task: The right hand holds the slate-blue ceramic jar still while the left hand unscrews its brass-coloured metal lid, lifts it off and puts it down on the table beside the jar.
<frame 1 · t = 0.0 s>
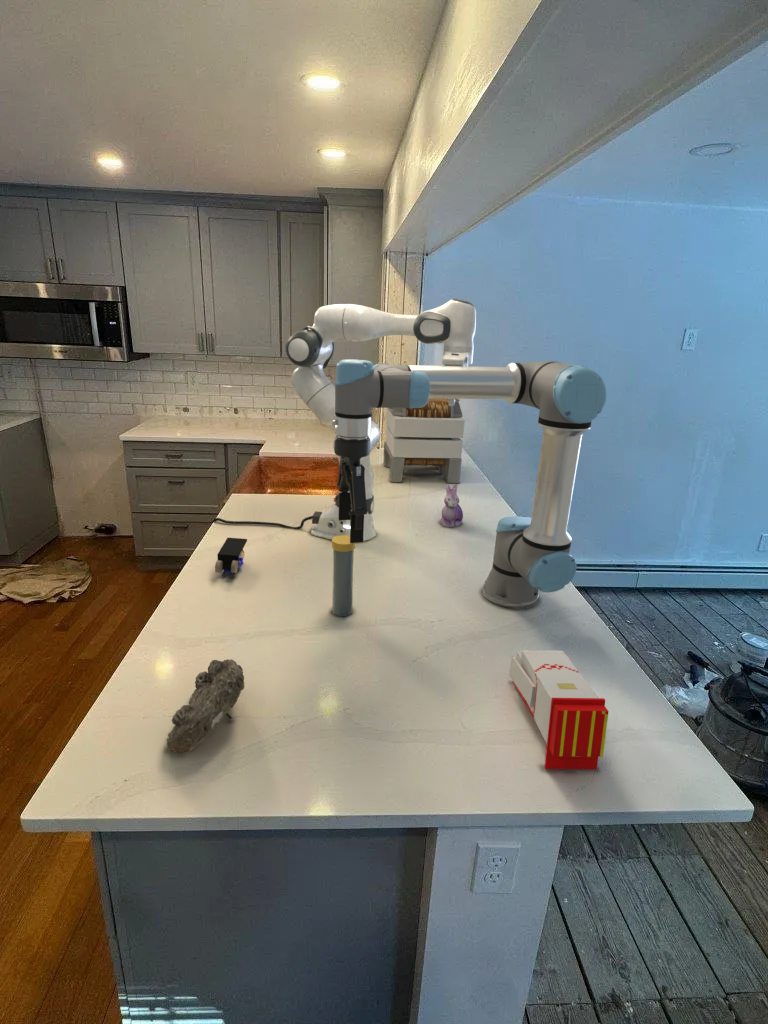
left hand: (454, 403, 174), 48 cm above the counter, tool pointing down, fingers open, 8 cm apart
right hand: (350, 530, 126), 28 cm above the counter, tool pointing down, fingers open, 13 cm apart
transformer: (419, 473, 275), on the counter
jar: (342, 611, 148), on the counter
figurine character: (232, 569, 168), on the counter
figurine: (451, 523, 212), on the counter
toy: (547, 717, 112), on the counter
fossil: (212, 717, 108), on the counter
lid: (343, 540, 141), point 20 cm above the counter, screwed on, not yet turned
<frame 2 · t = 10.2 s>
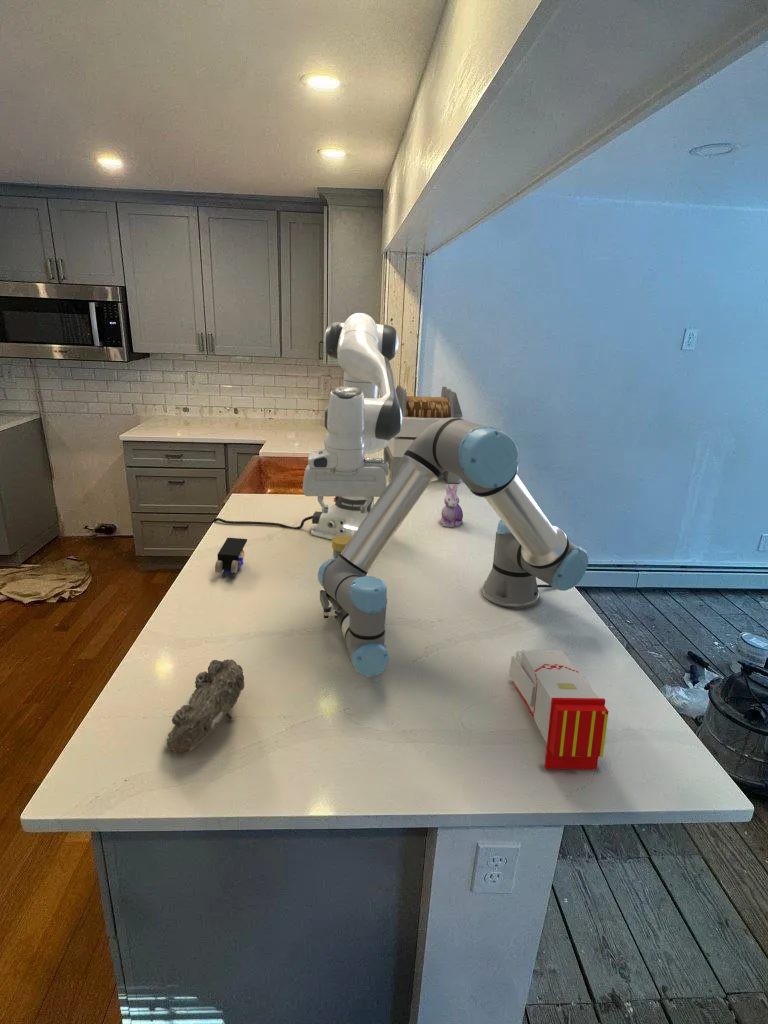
left hand: (344, 512, 138), 27 cm above the counter, tool pointing down, fingers open, 8 cm apart
right hand: (339, 579, 150), 6 cm above the counter, tool horizontal, fingers closed on jar, 5 cm apart
jar: (342, 611, 148), on the counter, touching right hand
everything else where it was.
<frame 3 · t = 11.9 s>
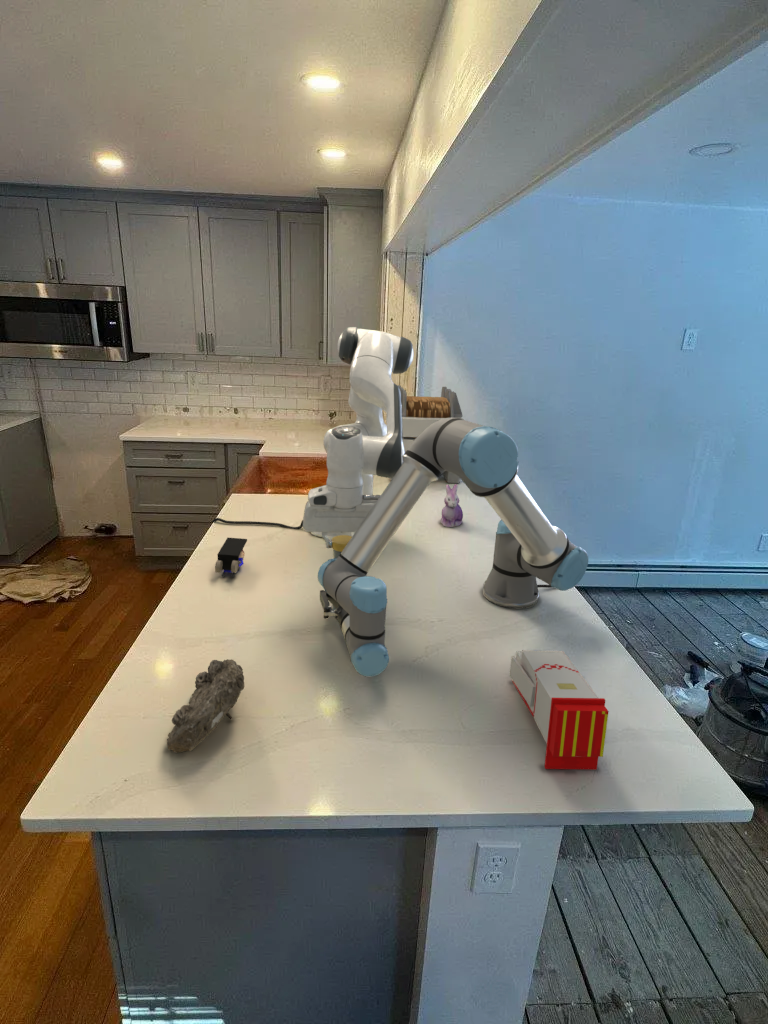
left hand: (343, 547, 142), 18 cm above the counter, tool pointing down, fingers closed on lid, 6 cm apart
right hand: (339, 579, 150), 6 cm above the counter, tool horizontal, fingers closed on jar, 5 cm apart
jar: (342, 611, 148), on the counter, touching right hand
lid: (343, 540, 141), point 20 cm above the counter, screwed on, not yet turned, touching left hand
everything else where it was.
when the left hand's fingers open (18 cm above the counter, at t = 13.2 s): lid stays where it is, point 20 cm above the counter.
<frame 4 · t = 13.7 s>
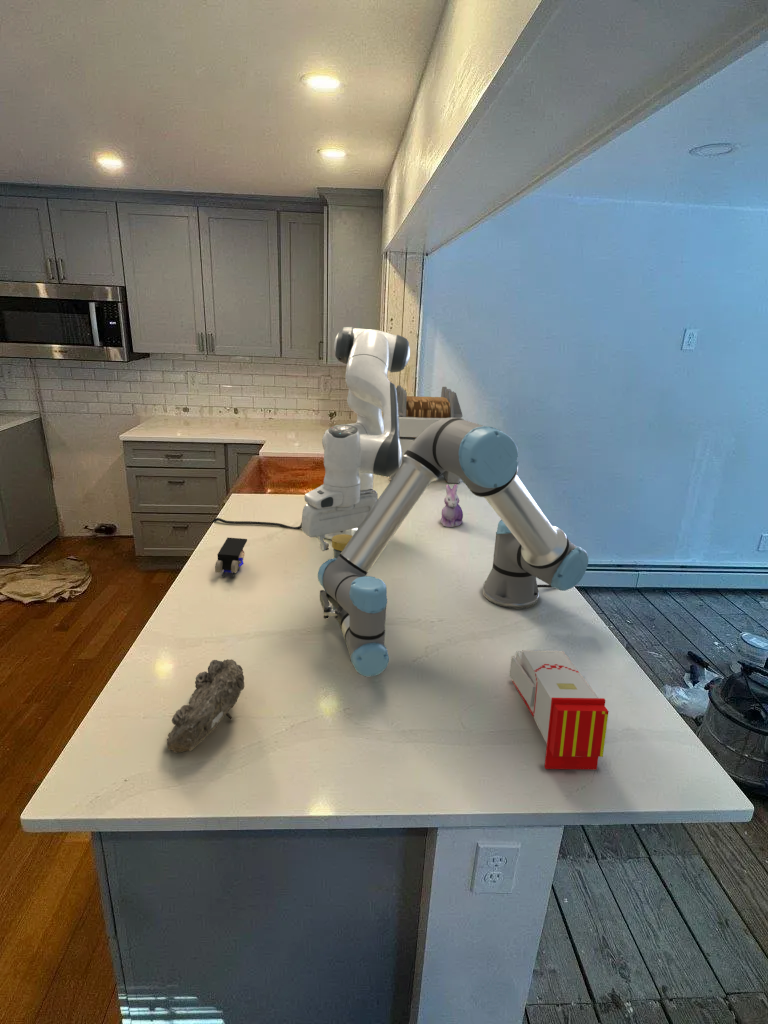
left hand: (341, 546, 141), 18 cm above the counter, tool pointing down, fingers open, 8 cm apart
right hand: (339, 579, 150), 6 cm above the counter, tool horizontal, fingers closed on jar, 5 cm apart
jar: (342, 611, 148), on the counter, touching right hand
lid: (343, 540, 141), point 20 cm above the counter, turned 71° so far, risen 0.2 cm, still on its thread
everything else where it was.
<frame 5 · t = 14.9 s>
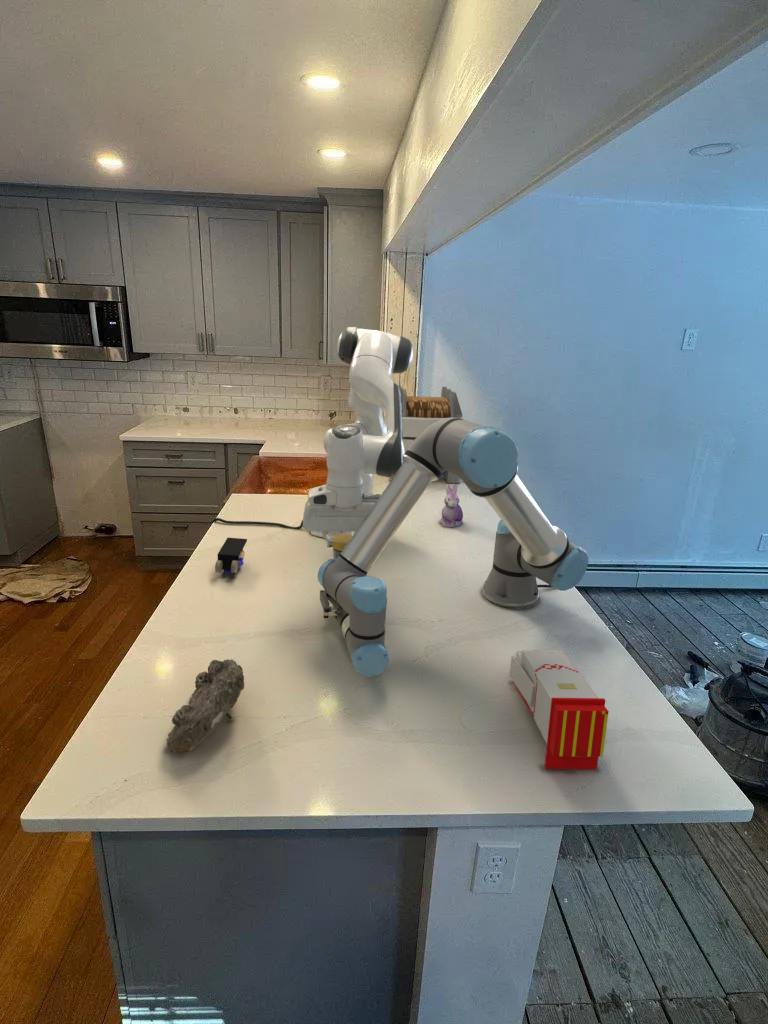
left hand: (343, 546, 142), 18 cm above the counter, tool pointing down, fingers closed on lid, 5 cm apart
right hand: (339, 579, 150), 6 cm above the counter, tool horizontal, fingers closed on jar, 5 cm apart
jar: (342, 611, 148), on the counter, touching right hand
lid: (343, 539, 141), point 20 cm above the counter, turned 74° so far, risen 0.2 cm, still on its thread, touching left hand
everything else where it was.
when the left hand's fingers open (2 cm above the counter, at t = 22.9 s): lid drops 2 cm, point 2 cm above the counter.
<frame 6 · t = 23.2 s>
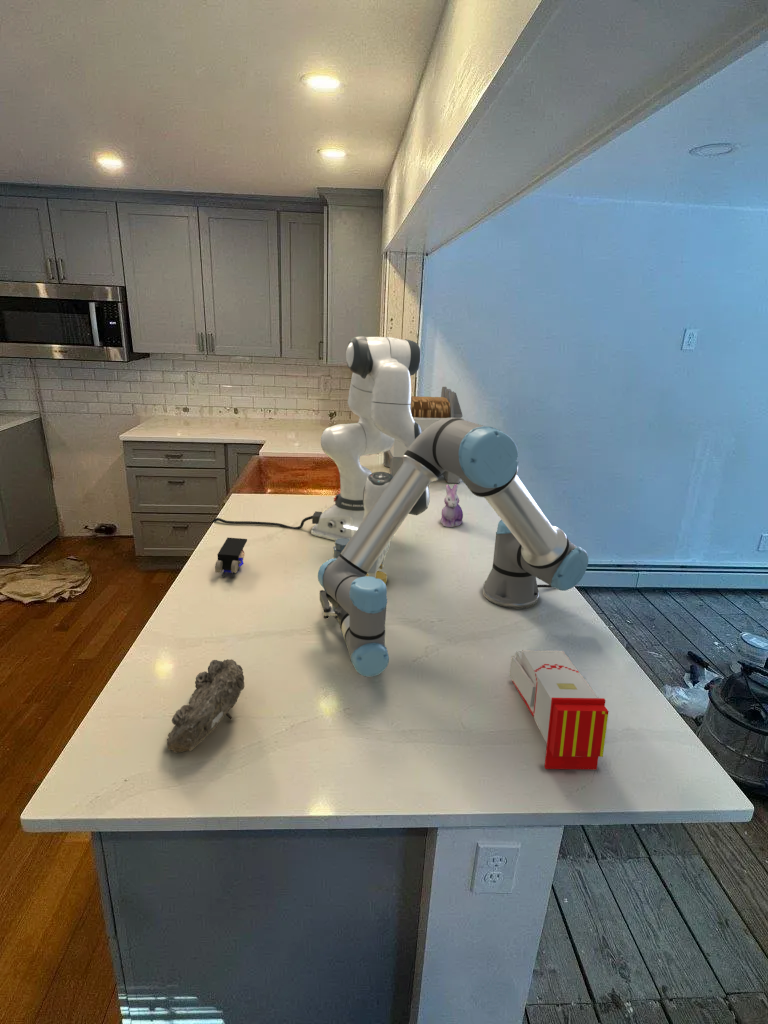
left hand: (376, 574, 164), 2 cm above the counter, tool pointing down, fingers open, 8 cm apart
right hand: (339, 579, 150), 6 cm above the counter, tool horizontal, fingers closed on jar, 5 cm apart
jar: (342, 611, 148), on the counter, touching right hand
lid: (376, 576, 164), point 2 cm above the counter, off its thread
everything else where it was.
when the right hand's fingers open (6 cm above the counter, at t = 23.8 s): jar stays where it is, on the counter.
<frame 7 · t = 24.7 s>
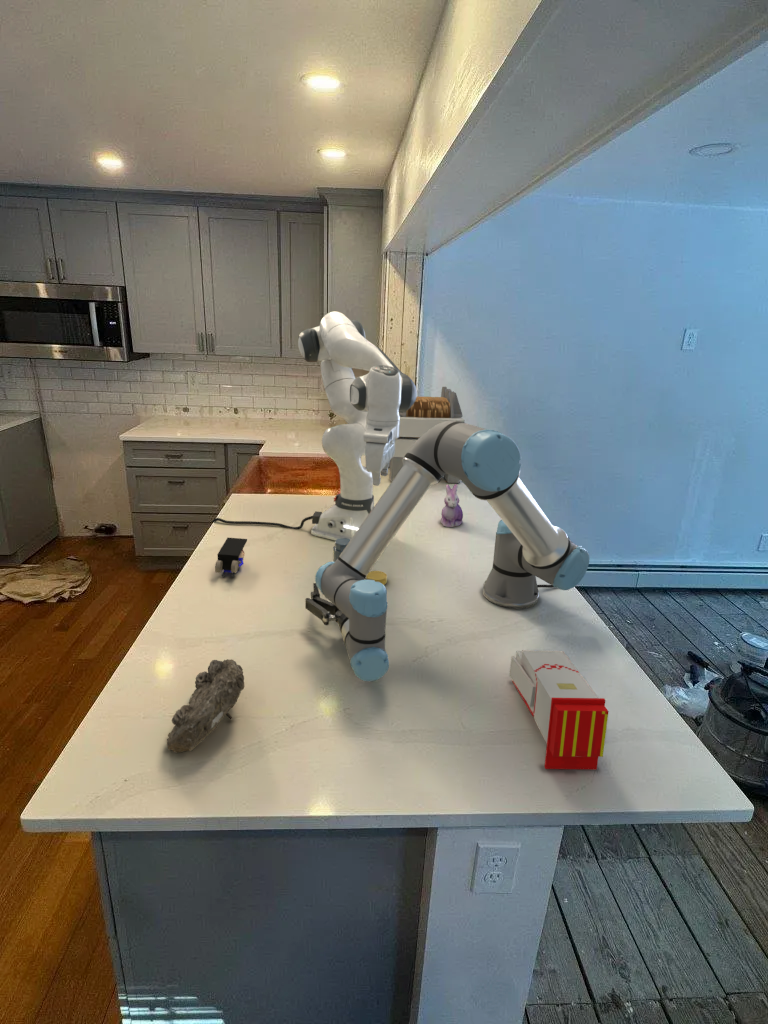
left hand: (380, 480, 154), 31 cm above the counter, tool pointing down, fingers open, 8 cm apart
right hand: (341, 585, 147), 7 cm above the counter, tool horizontal, fingers open, 13 cm apart
jar: (342, 611, 148), on the counter
everything else where it was.
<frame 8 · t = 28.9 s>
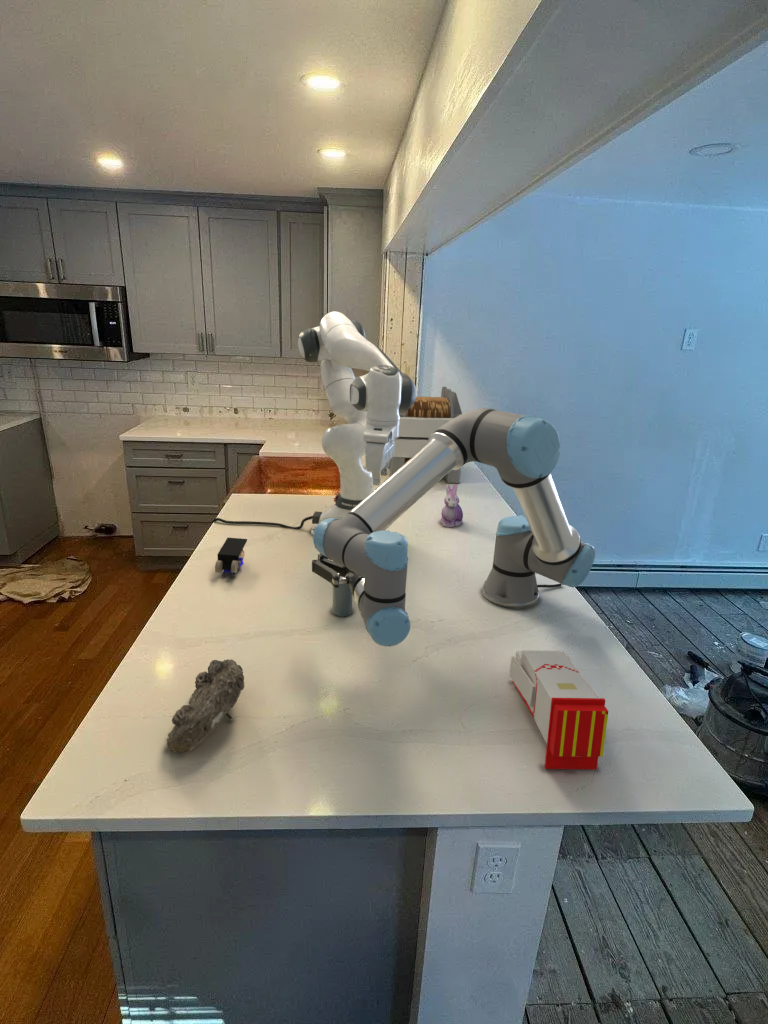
left hand: (380, 479, 154), 31 cm above the counter, tool pointing down, fingers open, 8 cm apart
right hand: (350, 548, 132), 22 cm above the counter, tool horizontal, fingers open, 13 cm apart
nothing on the counter moved.
at the end: lid came off its thread; lid point 1.7 cm above the counter; the left hand is holding nothing; the right hand is holding nothing; jar tilted 0°; jar moved 0.0 cm from its start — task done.
